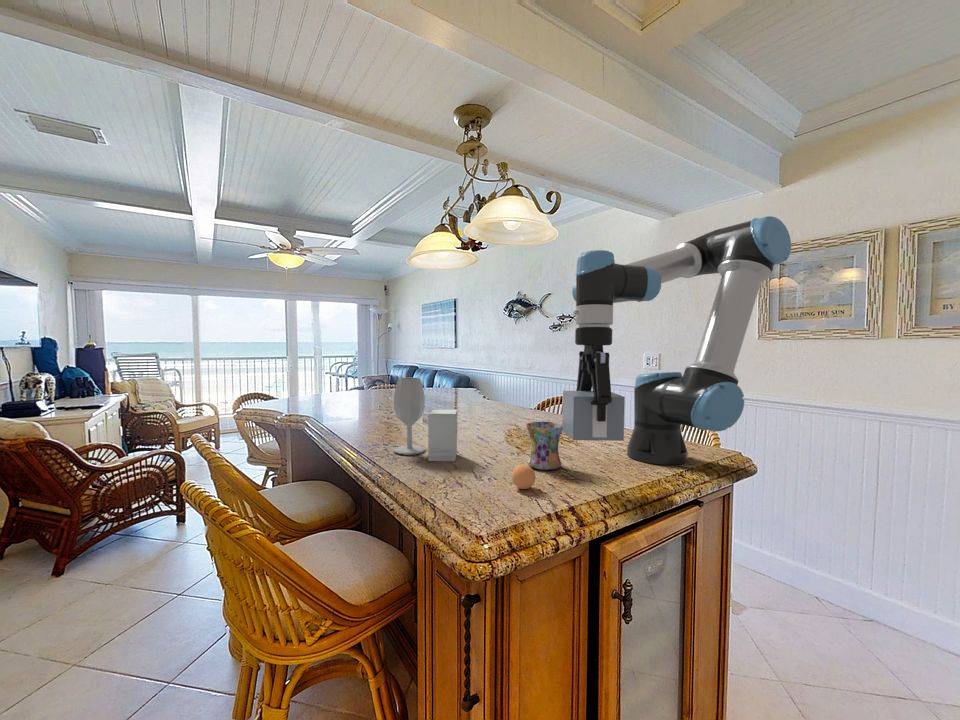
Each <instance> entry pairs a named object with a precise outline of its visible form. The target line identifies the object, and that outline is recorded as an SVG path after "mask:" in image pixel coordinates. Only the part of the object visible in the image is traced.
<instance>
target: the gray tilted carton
mask: <svg viewBox="0 0 960 720" xmlns="http://www.w3.org/2000/svg"><path fill="white" fill-rule="evenodd" d="M611 397H612V402H611V403H608V405H607V437H592V412H593V405H591V402H592V401H594V395H593V390H591V391H576V390H563V391H562V419H561V420H562V423H561V424H562V432H564V433H565V434H566V435H567V436H568V437H569V438H570V439H571V440H572V441H610V442H611V441H613V442H614V441H618V442H619V441H623V442H624V438H625V437H624V436H625V407H626V406H625V402H626V401H625V396H623V395H621V394H617V393H614V392H612V391H611Z"/></svg>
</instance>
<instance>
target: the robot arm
mask: <svg viewBox="0 0 960 720" xmlns="http://www.w3.org/2000/svg"><path fill="white" fill-rule="evenodd" d="M791 241H792V240H791V236H790V233H789V230H788V228H787V226H786V225H785V223H784V222H783V221H782V220H780V219H779V218H778V217H776V216H772V215H771V216H770V215H769V216H768V215H767V216H763V217H759V218H758V217H757V218H752V219H751V220H749V221H748V220H747V221H744V222H741V223H737V224H733V225H730V226H726V227H725V226H724V227H721V228H718V229H715V230H712V231H709V232H707V233H704V234H702V235H700V236H698V237H695V238H693V239H691V240H689V241H686V242H682V243H680V244H678V245H677V246H675V248H674V249H672V250H670V251H669V250H668V251H666V252H663V253H658V254H656V255H653V256H650V257H646V258H643V259H640V260H637V261H636V260H635V261H632V262H630V263H627V264H621V263H616V260H615V255H614V252H612V251H609V250H604V249H600V250H597V249H596V250H595V249H594V250H588V251H584V252H582V253H580V254H579V255H578V257H577V261H576V273H575V276H576V278H575V281H574V284H573V286H572V290H571V292H572V296H573V300H574V301H575V309H574V310H573V315H574V316H575V325H577V326H578V327H576V328H575V336H574V342H575V345H576V346H583V347H584V348H583V351H582V350H581V351H579V352H578V355H579V357H578V358H579V359H578V360H579V361H578V371H577V382H576V390H575V391H593V395H594V401H592V402H591V405H593V412H592V437H607V405H608V403H611V402H612V397H611V392H612V388H611V372H610V352H604V346H612V344H613V328H612V327H610V326H612V325H613V324H614V304H616V303H617V304H619V303H624V302H637V303H640V302H650V301H652V300H655V298H656V297H658V295H659V294H660V291H661V289H662V285H663V284H664V283H668V282H670V281H674V280H676V279H679V278H683V279H690V278H695V277H697V276H703V275H705V276H706V275H711V274H712V275H713V274H714V275H715V274H719V275H720V276H721V278H720V282H719V285H718V287H717V291H716V294H715V296H714V301H713V304H712V307H711V310H710V313H709V315H708V318H707V322H706V326H705V329H704V332H703V335H702V337H701V341H700V345H699V348H698V350H697V353H696V356H695V360H694V363H692V364H690V365H688V366H686V367H685V369H684V372H683V373H682V372H680V371H666V372H650V373H641V374H639V375H637V376H636V377H635V382H634V383H635V384H634V387H633V389H634V391H633V392H634V393H633V395H634V397H633V398H634V404H633V405H634V420H633V421H634V425H633V430H632V433H631V434H630V438H629V441H628V444H627V445H626V446H627V447H626V449H627V450H626V455H627V457H628V458H631V459H632V460H634V461H639V462H642V463H647V464H654V465H666V466H668V465H669V466H670V465H673V466H674V465H675V466H676V465H682V464H685V463H687V462H688V457H689V455H688V449H687V447H686V443H685V440H684V436H683V434H682V428H681V427H682V426H685V427H692V428H696V429H698V430H701V431H712V432H722V431H723V432H724V431H726V430H727V429H730V428H731V427H733V426H735V424H736V423H737V422H738V421H739V419H740V417H741V415H742V413H743V411H744V408H745V407H744V406H745V399H743V398H744V392H743V390H742V388H741V387H740V386H739V385H738V384H739V379H738V377H737V376H736V374H735V368H736V366H737V362H738V358H739V356H740V353H741V350H742V349H741V348H742V345H743V342H744V339H745V336H746V333H747V329H748V326H749V323H750V320H751V317H752V313H753V310H754V307H755V304H756V301H757V297H758V294H759V291H760V287H761V284H762V283H763V282H764V281H767V280H768V279H770V278H771V276H772V272H773V269H774V267H775V266H776V265H780V264H782V263H784V262H785V261H787V260H788V259H789V257H790V255H791V251H792V242H791Z"/></svg>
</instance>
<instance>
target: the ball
mask: <svg viewBox="0 0 960 720" xmlns="http://www.w3.org/2000/svg"><path fill="white" fill-rule="evenodd" d="M511 480H512V483H513V484H514V486H515V487H516V488H518V489H521V490H527V489H530V488H532V487H533V485H534V484H535V481H536V473H535V471H534V469H533V467H531V466H529V465H526V464H520V465H517V466H516V467H515V468H514V469H513V470H512V473H511Z"/></svg>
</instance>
